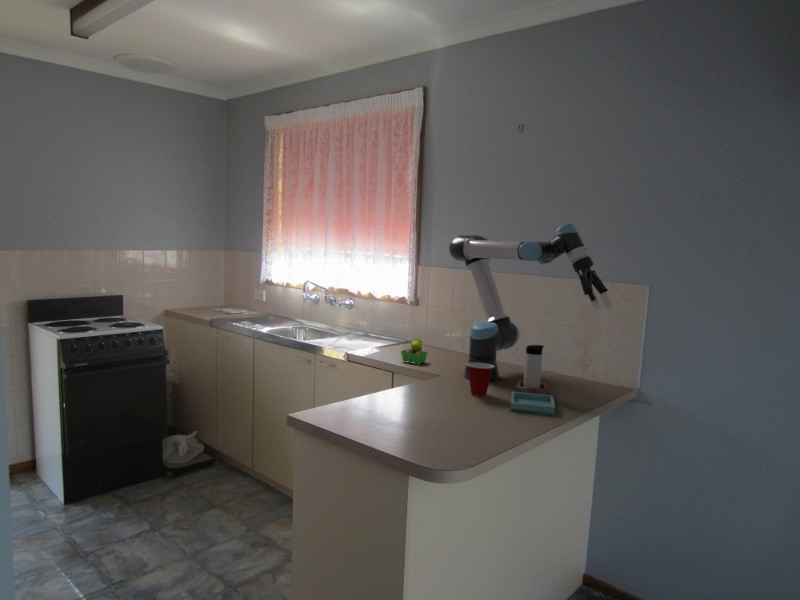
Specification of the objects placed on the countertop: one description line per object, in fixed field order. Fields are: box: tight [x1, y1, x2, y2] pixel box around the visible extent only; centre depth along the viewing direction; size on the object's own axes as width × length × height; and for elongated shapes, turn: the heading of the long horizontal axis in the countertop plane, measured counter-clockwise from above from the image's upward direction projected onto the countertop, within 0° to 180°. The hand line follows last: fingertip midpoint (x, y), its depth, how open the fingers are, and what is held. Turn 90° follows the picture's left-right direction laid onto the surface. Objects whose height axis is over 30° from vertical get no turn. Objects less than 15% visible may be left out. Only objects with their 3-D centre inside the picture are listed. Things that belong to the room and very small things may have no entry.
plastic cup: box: [465, 362, 494, 397], centre depth 218 cm, size 11×11×12 cm
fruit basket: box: [400, 337, 429, 364], centre depth 268 cm, size 11×9×11 cm
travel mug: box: [523, 344, 545, 389], centre depth 219 cm, size 6×7×20 cm
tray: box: [509, 391, 556, 416], centre depth 205 cm, size 15×15×3 cm
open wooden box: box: [516, 379, 549, 395], centre depth 220 cm, size 12×12×4 cm
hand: (604, 308), depth 219 cm, fingers open, 13 cm apart
